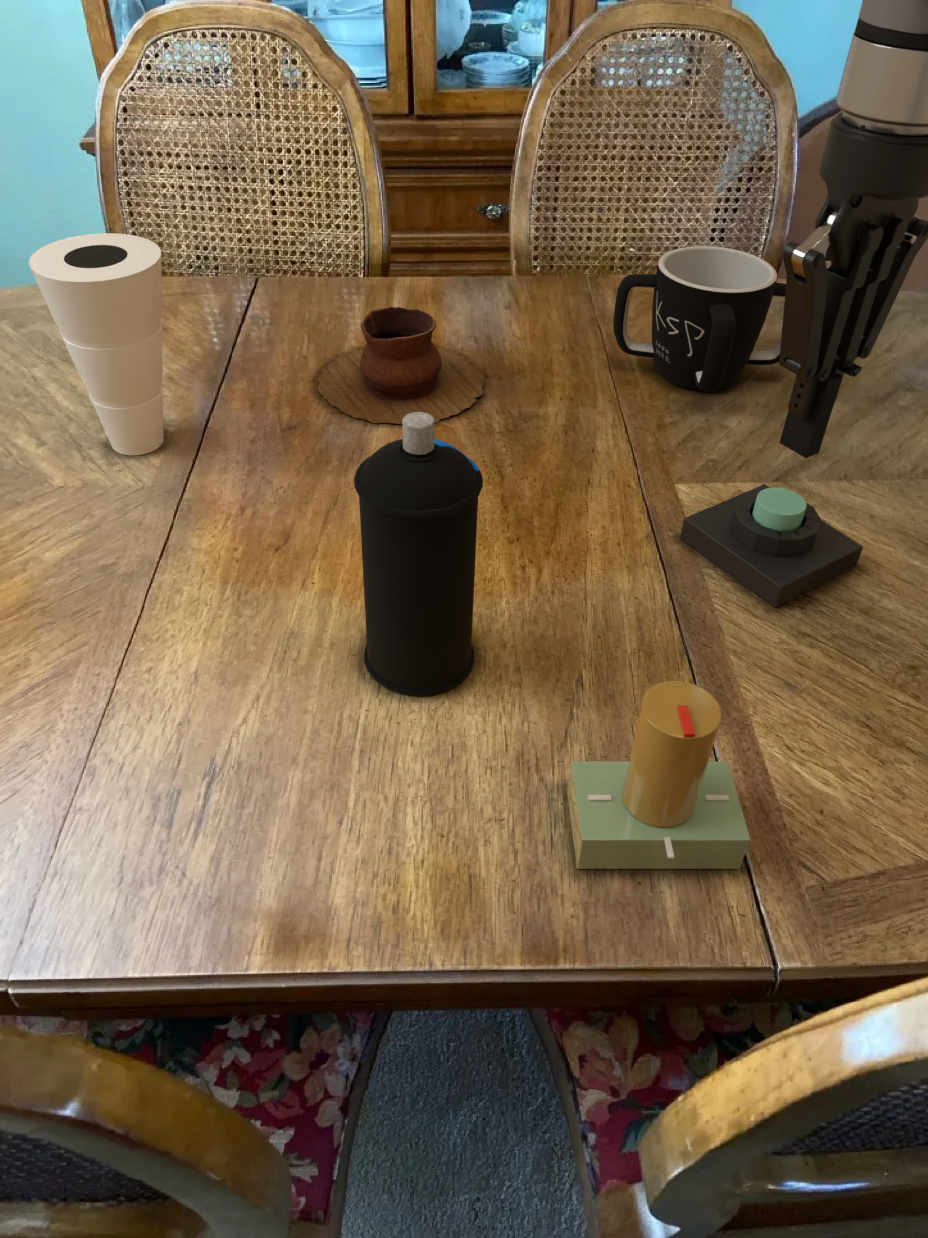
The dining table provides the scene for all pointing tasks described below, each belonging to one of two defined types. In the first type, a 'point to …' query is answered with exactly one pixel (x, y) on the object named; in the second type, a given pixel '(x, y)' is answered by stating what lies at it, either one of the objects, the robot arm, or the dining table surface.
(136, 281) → the cream tapered cylinder
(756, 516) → the round green button
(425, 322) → the ceramic pot
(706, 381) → the mug
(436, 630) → the aerosol can
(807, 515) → the button base
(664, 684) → the dial
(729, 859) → the dial panel
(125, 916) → the dining table surface
